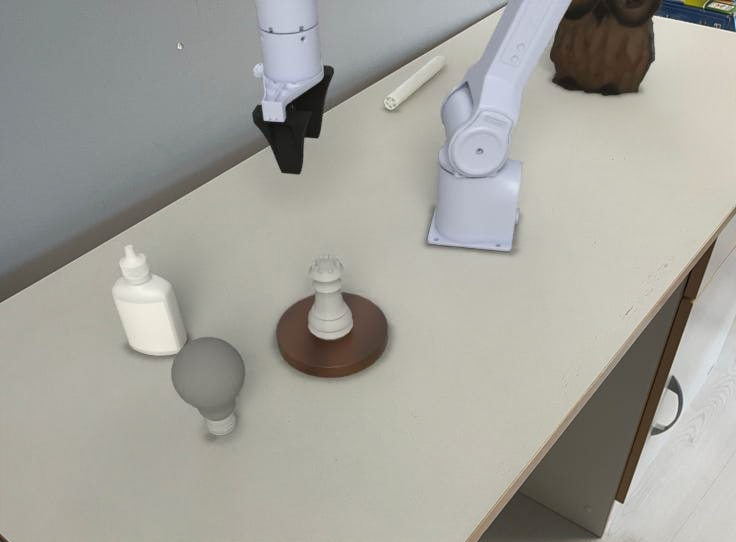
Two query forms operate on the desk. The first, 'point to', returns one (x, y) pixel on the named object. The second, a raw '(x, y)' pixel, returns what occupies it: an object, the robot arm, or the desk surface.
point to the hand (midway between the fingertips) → (301, 153)
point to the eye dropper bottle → (147, 308)
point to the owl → (604, 45)
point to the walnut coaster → (333, 354)
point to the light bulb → (210, 380)
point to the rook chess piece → (328, 300)
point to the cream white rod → (414, 82)
